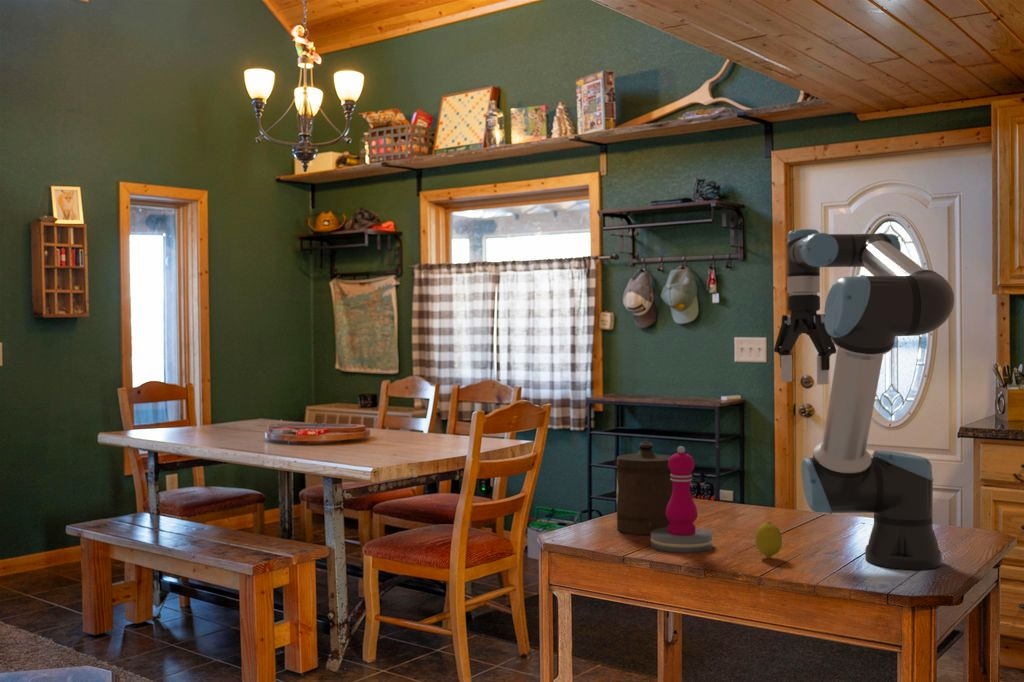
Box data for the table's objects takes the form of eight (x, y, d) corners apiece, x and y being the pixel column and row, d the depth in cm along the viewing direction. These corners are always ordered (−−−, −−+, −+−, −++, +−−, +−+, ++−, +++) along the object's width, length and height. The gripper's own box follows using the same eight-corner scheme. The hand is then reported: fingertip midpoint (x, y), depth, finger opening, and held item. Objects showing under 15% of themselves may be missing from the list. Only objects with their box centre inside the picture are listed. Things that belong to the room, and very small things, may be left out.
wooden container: (643, 521, 256) (643, 436, 255) (688, 529, 244) (688, 441, 244) (604, 529, 246) (603, 441, 246) (649, 538, 235) (649, 446, 234)
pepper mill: (696, 529, 229) (695, 444, 229) (699, 536, 222) (698, 448, 222) (665, 529, 230) (664, 444, 229) (666, 535, 222) (666, 447, 222)
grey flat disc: (724, 549, 222) (724, 536, 222) (670, 555, 217) (670, 541, 217) (691, 537, 235) (691, 524, 235) (639, 542, 230) (639, 529, 230)
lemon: (781, 556, 215) (781, 519, 215) (781, 561, 210) (781, 524, 209) (756, 554, 216) (755, 518, 216) (755, 560, 211) (755, 523, 211)
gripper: (851, 292, 225) (852, 385, 225) (784, 296, 248) (784, 380, 248) (825, 292, 222) (825, 386, 222) (759, 296, 245) (760, 381, 246)
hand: (804, 383), depth 235 cm, fingers open, 13 cm apart
